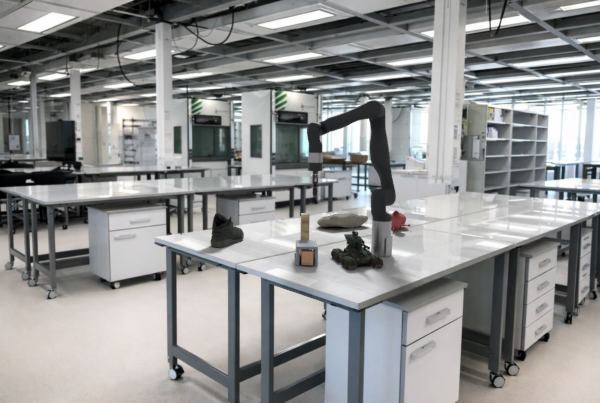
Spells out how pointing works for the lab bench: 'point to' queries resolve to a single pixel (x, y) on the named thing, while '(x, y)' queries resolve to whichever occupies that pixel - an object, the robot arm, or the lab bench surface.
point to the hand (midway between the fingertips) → (314, 195)
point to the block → (307, 255)
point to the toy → (398, 220)
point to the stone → (342, 220)
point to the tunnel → (307, 245)
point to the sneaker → (224, 232)
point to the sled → (305, 230)
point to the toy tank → (356, 253)
